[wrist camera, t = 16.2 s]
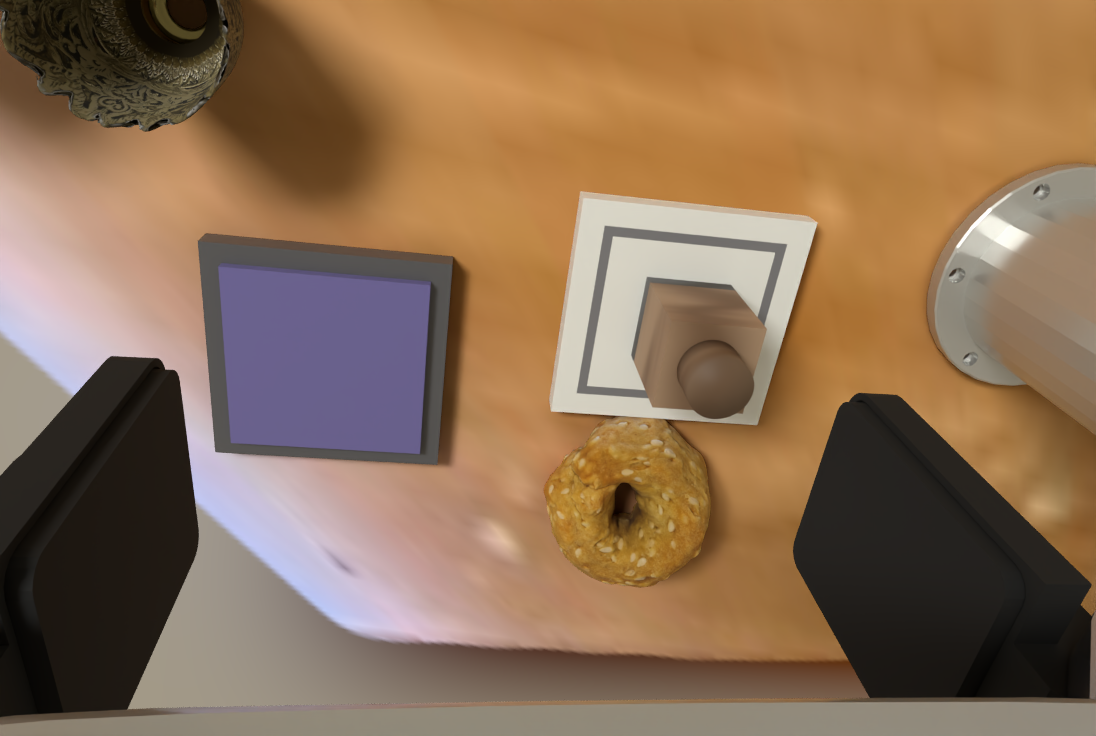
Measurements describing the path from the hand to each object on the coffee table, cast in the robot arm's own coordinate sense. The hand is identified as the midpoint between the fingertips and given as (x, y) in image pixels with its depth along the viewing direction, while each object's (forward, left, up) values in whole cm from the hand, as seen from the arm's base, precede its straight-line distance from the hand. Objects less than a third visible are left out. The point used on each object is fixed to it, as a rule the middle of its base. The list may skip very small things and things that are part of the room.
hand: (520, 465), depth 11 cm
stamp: (-11, +9, -27) cm, 30 cm away
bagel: (-10, +20, -29) cm, 37 cm away
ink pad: (+7, +13, -28) cm, 32 cm away
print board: (-11, +9, -28) cm, 31 cm away
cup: (+13, -3, -28) cm, 31 cm away
